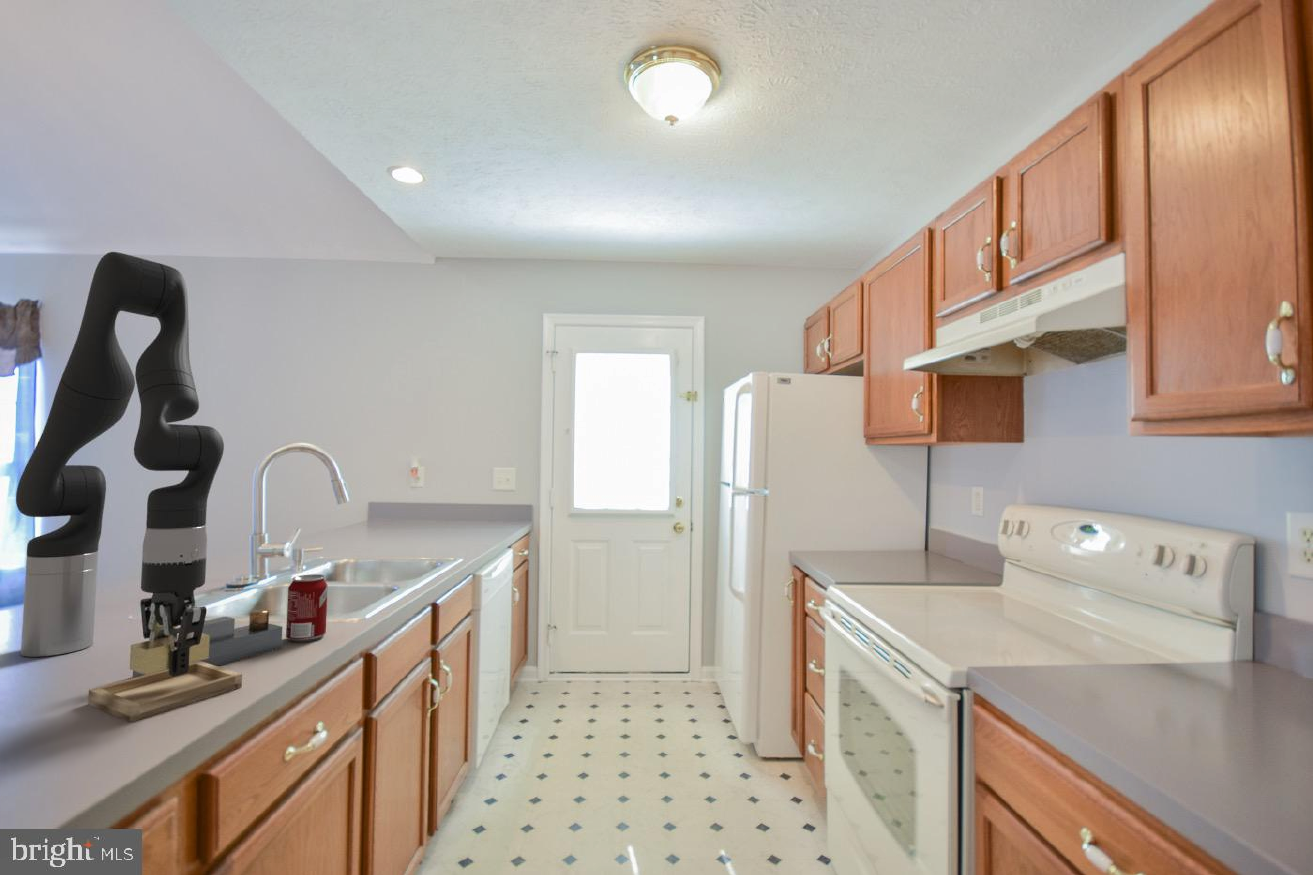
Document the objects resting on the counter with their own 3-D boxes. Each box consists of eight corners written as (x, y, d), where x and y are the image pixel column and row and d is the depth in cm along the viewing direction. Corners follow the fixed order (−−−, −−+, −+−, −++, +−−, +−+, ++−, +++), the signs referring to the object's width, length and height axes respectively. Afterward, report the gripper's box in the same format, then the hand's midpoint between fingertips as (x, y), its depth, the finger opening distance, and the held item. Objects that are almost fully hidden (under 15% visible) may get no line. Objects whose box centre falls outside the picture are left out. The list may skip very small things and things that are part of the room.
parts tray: (88, 703, 85) (88, 689, 85) (199, 673, 97) (199, 660, 97) (129, 722, 79) (130, 707, 79) (241, 687, 92) (242, 674, 92)
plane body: (151, 684, 92) (155, 619, 93) (132, 676, 95) (135, 614, 95) (281, 648, 110) (283, 594, 111) (262, 643, 113) (264, 590, 113)
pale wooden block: (129, 669, 86) (130, 644, 86) (192, 653, 93) (193, 630, 93) (145, 674, 84) (146, 649, 84) (208, 658, 91) (209, 635, 91)
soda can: (312, 644, 113) (315, 581, 113) (277, 643, 113) (280, 580, 114) (332, 633, 120) (335, 574, 120) (299, 632, 120) (302, 573, 120)
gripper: (120, 555, 89) (114, 671, 88) (171, 565, 82) (164, 689, 82) (178, 549, 96) (173, 656, 95) (229, 557, 89) (224, 672, 89)
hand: (169, 670), depth 88 cm, fingers closed on pale wooden block, 4 cm apart
